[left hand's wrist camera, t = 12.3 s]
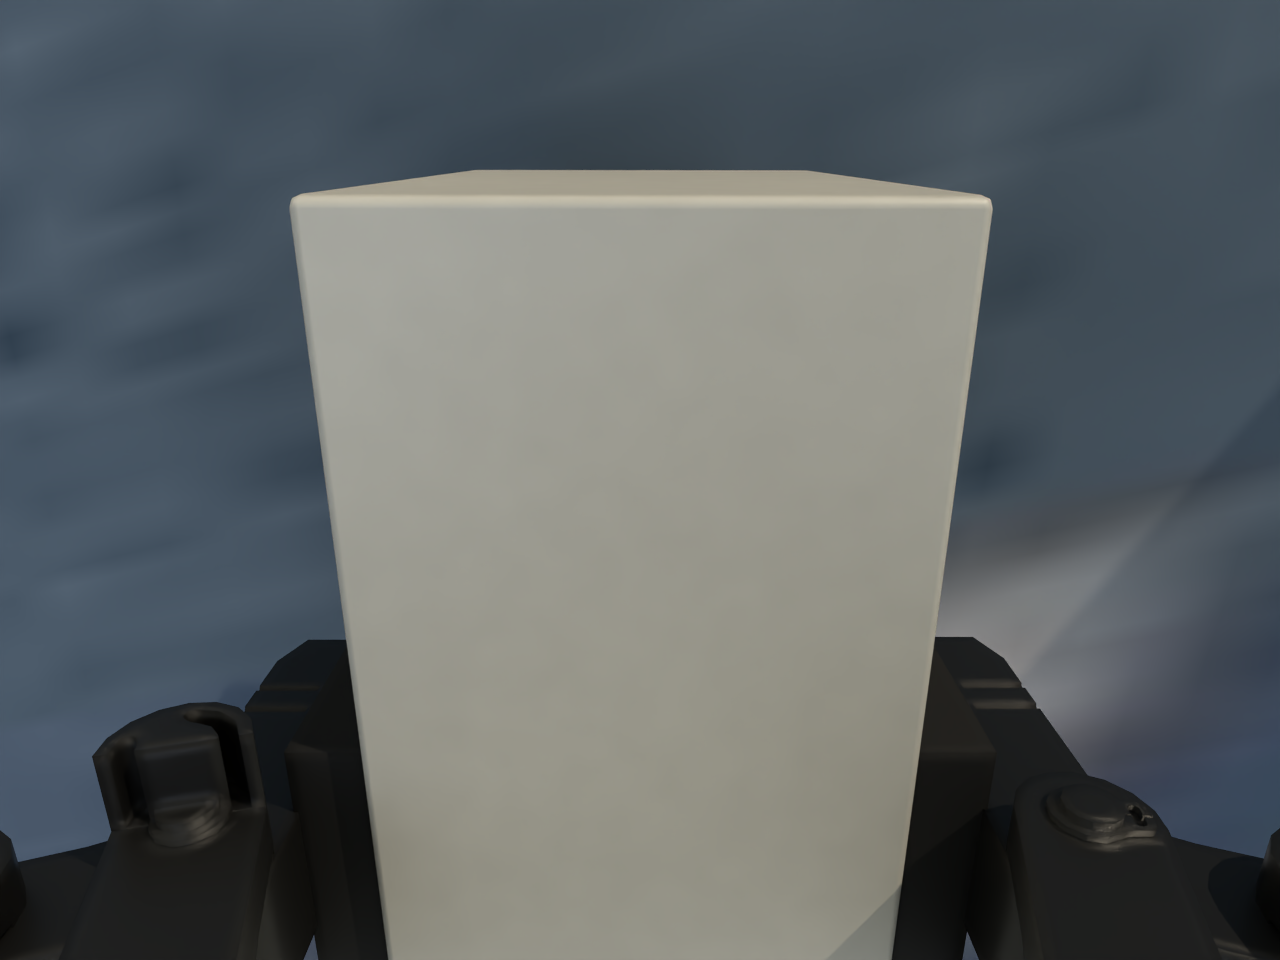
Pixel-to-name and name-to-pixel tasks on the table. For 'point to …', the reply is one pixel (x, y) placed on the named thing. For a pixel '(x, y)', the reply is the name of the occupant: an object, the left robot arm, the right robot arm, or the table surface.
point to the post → (640, 546)
